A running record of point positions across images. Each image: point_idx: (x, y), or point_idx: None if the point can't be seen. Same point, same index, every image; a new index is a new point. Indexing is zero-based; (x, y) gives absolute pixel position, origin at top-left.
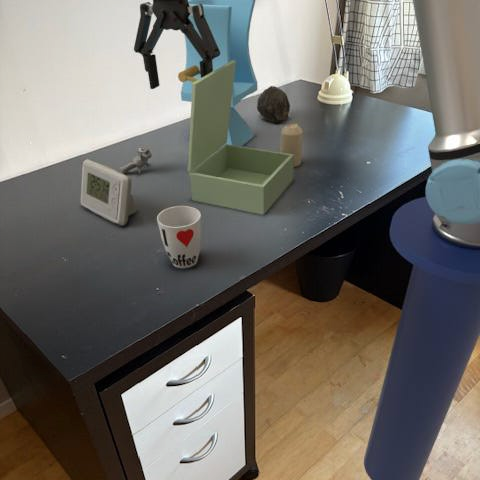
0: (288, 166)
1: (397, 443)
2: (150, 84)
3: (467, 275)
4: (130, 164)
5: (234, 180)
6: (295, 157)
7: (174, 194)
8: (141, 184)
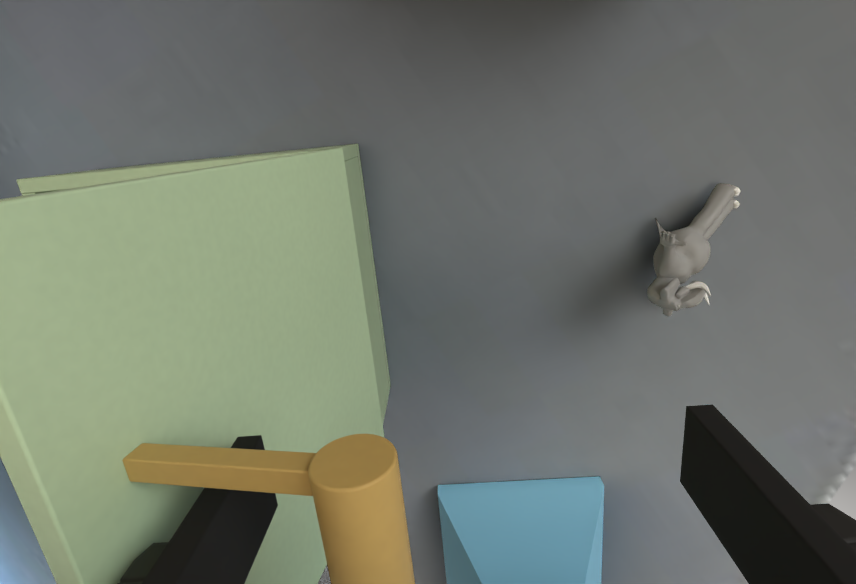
0: None
1: None
2: (722, 422)
3: None
4: (702, 217)
5: (141, 177)
6: None
7: (442, 152)
8: (603, 160)
